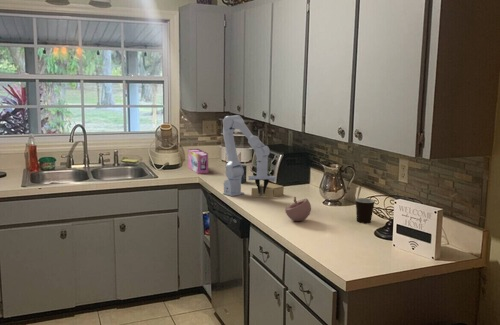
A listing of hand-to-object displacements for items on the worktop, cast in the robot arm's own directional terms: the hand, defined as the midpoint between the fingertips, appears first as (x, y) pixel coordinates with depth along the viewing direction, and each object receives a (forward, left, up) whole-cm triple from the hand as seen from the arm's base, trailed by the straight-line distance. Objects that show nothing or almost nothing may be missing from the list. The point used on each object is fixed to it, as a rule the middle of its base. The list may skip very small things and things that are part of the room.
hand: (261, 193), depth 267 cm
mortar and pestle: (-15, -39, -4) cm, 42 cm away
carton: (+12, +4, -3) cm, 13 cm away
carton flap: (+2, +2, -3) cm, 4 cm away
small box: (+19, +40, -4) cm, 45 cm away
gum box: (+23, +84, -4) cm, 87 cm away
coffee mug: (+9, -60, -4) cm, 60 cm away
